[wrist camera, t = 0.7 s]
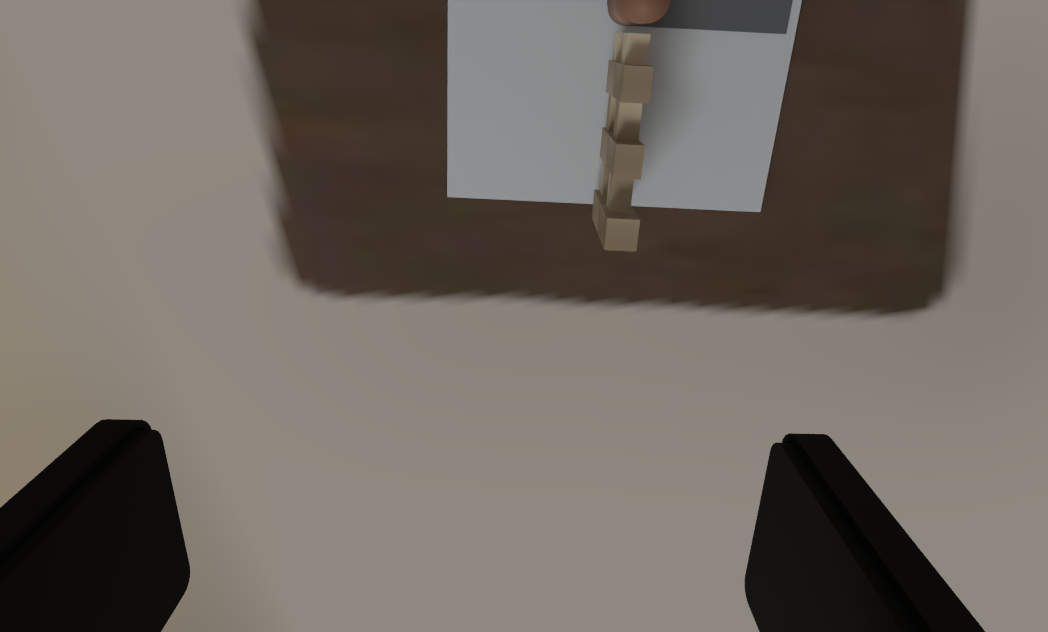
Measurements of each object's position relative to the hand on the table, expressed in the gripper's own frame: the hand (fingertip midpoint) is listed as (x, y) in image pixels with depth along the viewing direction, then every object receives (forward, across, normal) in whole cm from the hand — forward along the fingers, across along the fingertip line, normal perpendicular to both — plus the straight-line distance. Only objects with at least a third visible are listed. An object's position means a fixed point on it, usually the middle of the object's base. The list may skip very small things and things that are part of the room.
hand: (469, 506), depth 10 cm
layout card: (+21, -5, -9) cm, 23 cm away
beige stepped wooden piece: (+20, -5, -4) cm, 21 cm away
